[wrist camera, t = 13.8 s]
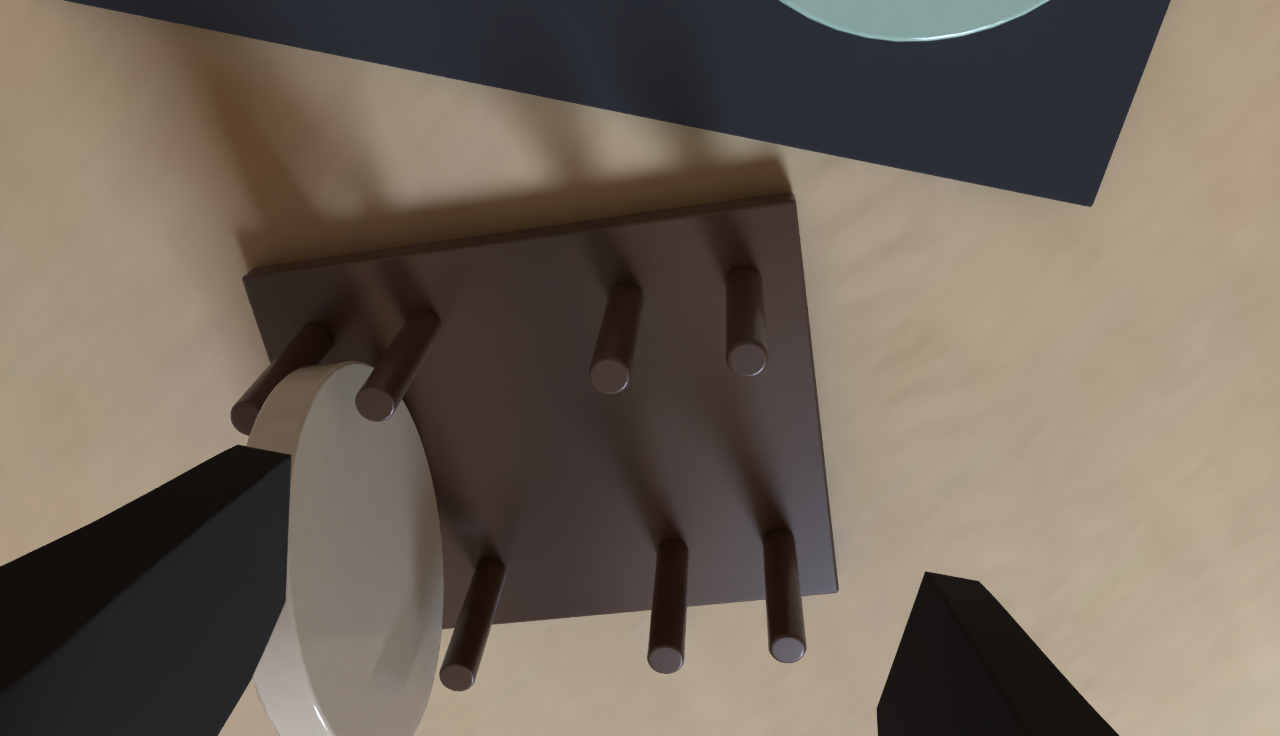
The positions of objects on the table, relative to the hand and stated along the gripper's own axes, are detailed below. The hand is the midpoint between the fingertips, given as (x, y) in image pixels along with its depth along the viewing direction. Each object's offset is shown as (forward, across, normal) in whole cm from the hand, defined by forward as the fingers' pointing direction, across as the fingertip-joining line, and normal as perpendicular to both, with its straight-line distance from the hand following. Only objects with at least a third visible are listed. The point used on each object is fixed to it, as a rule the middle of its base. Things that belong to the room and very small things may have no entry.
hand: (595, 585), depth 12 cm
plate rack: (+10, +1, +4) cm, 11 cm away
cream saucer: (+6, +4, +5) cm, 9 cm away
